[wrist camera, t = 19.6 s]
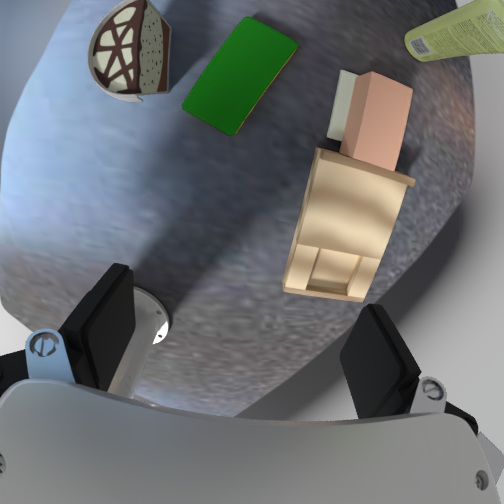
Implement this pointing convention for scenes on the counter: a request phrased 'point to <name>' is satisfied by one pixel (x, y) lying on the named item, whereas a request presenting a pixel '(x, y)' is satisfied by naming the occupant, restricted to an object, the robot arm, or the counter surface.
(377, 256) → the open box
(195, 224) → the counter surface
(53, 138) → the counter surface
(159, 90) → the food container
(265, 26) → the dish sponge
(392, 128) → the block
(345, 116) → the mat
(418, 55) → the tube
